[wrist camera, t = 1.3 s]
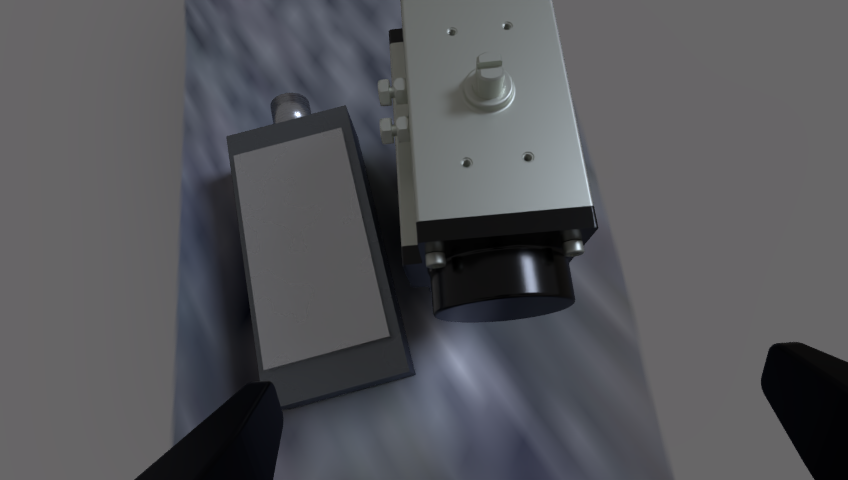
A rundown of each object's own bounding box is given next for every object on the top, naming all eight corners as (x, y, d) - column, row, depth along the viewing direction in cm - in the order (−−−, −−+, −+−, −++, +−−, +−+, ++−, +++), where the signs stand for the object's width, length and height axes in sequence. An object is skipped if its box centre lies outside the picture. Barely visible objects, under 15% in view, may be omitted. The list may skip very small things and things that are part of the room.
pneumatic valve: (506, 119, 26) (545, -103, 14) (537, 335, 22) (626, 270, 10) (405, 128, 26) (364, -82, 14) (419, 345, 22) (380, 291, 11)
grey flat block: (415, 374, 22) (408, 370, 18) (289, 408, 21) (258, 411, 18) (350, 107, 26) (335, 65, 23) (247, 134, 26) (217, 96, 23)
